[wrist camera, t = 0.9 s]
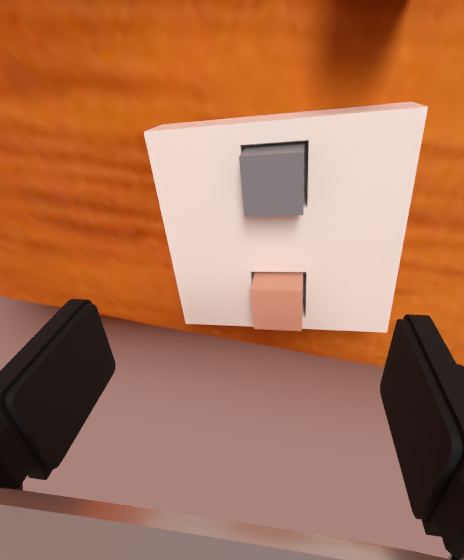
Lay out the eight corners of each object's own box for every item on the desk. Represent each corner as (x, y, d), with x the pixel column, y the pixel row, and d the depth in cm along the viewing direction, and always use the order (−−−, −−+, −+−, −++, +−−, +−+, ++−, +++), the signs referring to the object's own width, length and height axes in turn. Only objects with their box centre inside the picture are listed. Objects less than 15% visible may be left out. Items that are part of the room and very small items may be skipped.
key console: (411, 101, 25) (427, 106, 22) (379, 307, 35) (386, 332, 31) (162, 124, 29) (143, 131, 26) (196, 301, 39) (185, 323, 36)
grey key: (304, 143, 25) (304, 152, 22) (303, 201, 27) (303, 215, 24) (245, 147, 26) (238, 156, 23) (249, 203, 28) (244, 216, 25)
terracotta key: (302, 272, 30) (302, 290, 28) (302, 311, 33) (302, 331, 30) (254, 271, 31) (250, 289, 29) (257, 309, 33) (253, 329, 31)
